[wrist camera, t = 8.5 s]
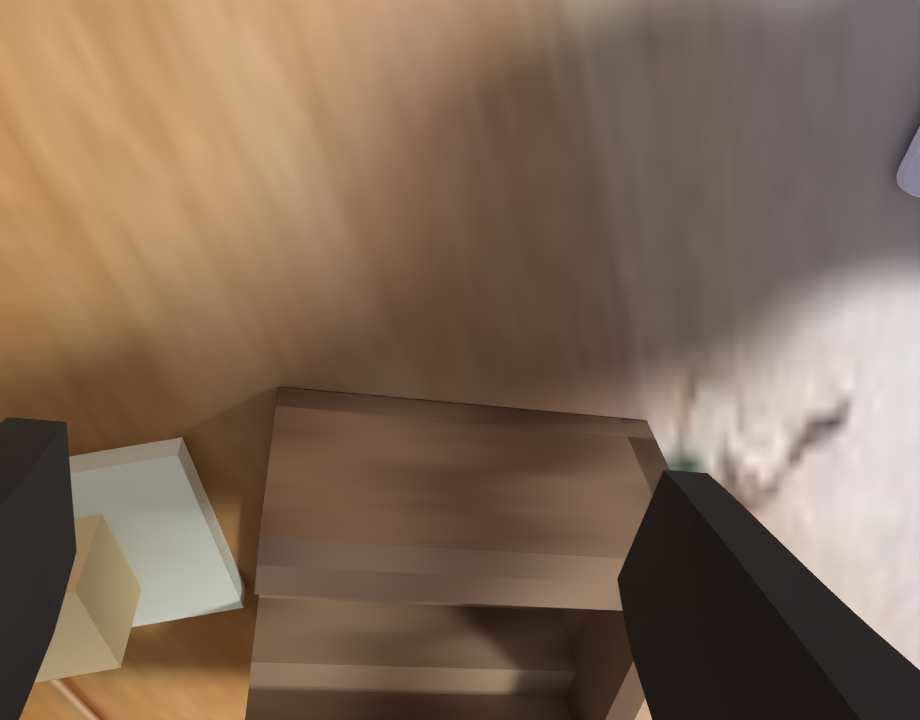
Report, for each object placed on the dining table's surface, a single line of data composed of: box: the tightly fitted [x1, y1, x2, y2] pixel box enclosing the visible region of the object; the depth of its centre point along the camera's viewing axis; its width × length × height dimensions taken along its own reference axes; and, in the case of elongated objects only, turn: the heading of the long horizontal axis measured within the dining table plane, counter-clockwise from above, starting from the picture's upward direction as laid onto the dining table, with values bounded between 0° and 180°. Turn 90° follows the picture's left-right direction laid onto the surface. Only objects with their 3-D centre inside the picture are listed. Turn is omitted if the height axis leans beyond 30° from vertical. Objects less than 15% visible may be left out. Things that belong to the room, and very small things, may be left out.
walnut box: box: [245, 387, 670, 720], centre depth 22 cm, size 10×9×5 cm
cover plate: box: [34, 437, 246, 683], centre depth 22 cm, size 8×6×4 cm
